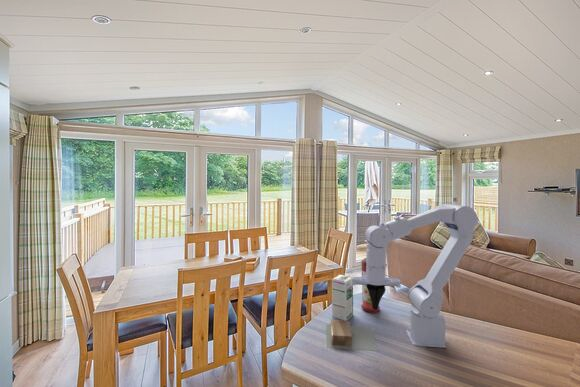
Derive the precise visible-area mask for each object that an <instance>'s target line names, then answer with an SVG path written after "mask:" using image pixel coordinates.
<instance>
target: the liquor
mask: <svg viewBox="0 0 580 387" xmlns="http://www.w3.org/2000/svg"><path fill="white" fill-rule="evenodd" d="M366 258H367V257H364V258H363V259H362V260H361V262H360V263H361V277H362V276H366ZM361 288H362V303H361V306H360V307H361V308H362V310H364V311H365V312H367V313H374V314H375V313H376V312H378V311H379V310H380V309H381V307H380V304H379V305H378V310H375V309H373V308H372V302H371V297H370V294H369V291H368V289H367V286H366V285H361Z"/></svg>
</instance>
